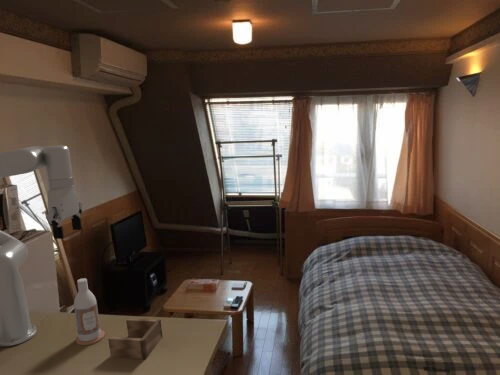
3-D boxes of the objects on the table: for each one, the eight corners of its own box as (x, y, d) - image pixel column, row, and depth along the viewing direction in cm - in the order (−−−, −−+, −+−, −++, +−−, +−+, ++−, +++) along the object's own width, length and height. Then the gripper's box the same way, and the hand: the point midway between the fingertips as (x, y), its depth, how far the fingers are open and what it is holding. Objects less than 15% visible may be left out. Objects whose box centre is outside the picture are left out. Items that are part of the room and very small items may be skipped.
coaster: (70, 344, 135) (70, 343, 135) (86, 330, 144) (86, 328, 143) (95, 346, 133) (95, 344, 133) (110, 331, 142) (109, 329, 142)
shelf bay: (110, 356, 127) (108, 338, 126) (130, 334, 139) (127, 318, 138) (145, 359, 124) (143, 340, 123) (162, 336, 136) (160, 319, 135)
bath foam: (81, 344, 133) (72, 286, 130) (76, 335, 139) (68, 279, 135) (103, 337, 137) (95, 280, 133) (97, 328, 143) (90, 273, 139)
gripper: (67, 179, 145) (74, 226, 148) (32, 189, 128) (40, 242, 131) (87, 178, 143) (93, 226, 146) (53, 188, 127) (61, 242, 130)
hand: (68, 233), depth 139 cm, fingers open, 9 cm apart
